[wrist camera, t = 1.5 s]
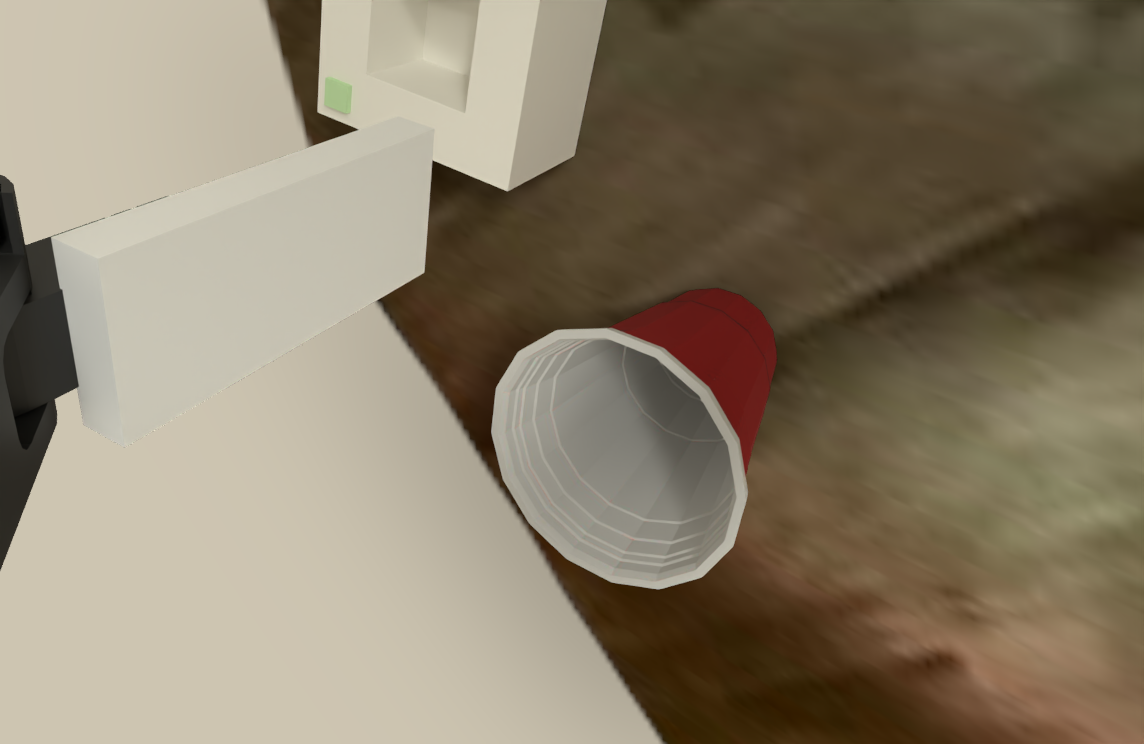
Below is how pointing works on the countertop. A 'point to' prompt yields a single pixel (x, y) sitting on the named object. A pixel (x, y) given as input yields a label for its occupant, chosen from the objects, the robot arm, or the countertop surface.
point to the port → (465, 76)
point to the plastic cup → (639, 436)
